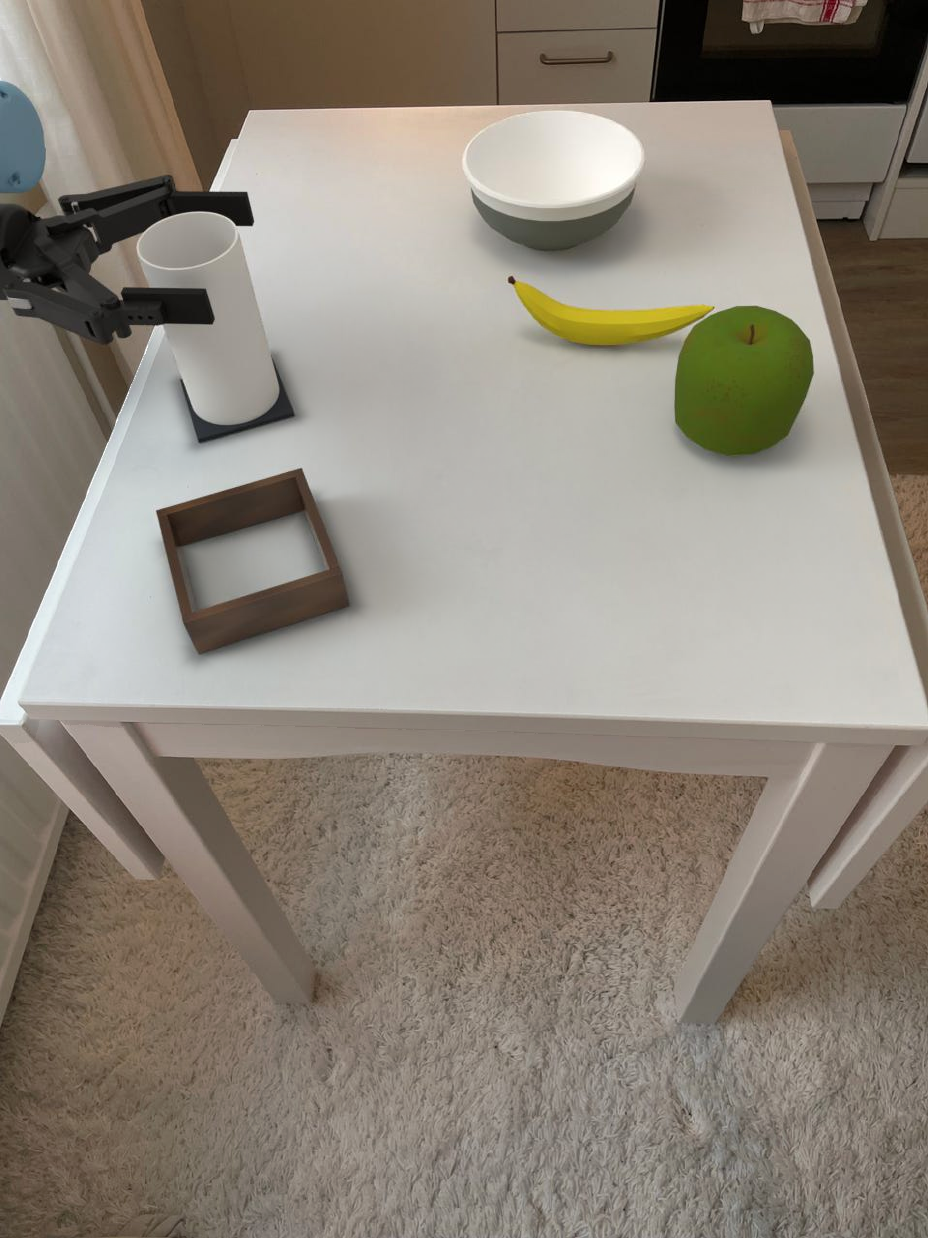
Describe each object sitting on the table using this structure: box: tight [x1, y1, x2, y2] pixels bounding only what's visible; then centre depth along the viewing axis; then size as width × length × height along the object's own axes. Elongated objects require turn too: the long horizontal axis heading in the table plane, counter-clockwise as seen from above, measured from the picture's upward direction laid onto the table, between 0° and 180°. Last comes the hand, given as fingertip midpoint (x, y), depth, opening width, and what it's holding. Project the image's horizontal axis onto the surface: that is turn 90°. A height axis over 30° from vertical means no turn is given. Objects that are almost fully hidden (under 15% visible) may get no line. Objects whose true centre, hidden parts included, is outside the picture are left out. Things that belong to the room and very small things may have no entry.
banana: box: [507, 275, 715, 346], centre depth 89 cm, size 3×19×6 cm, turn 78°
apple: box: [673, 305, 815, 457], centre depth 80 cm, size 11×11×11 cm
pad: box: [179, 355, 296, 444], centre depth 89 cm, size 9×9×1 cm
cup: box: [136, 212, 279, 425], centre depth 83 cm, size 8×8×16 cm
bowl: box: [461, 109, 646, 252], centre depth 100 cm, size 19×19×8 cm
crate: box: [155, 467, 351, 655], centre depth 75 cm, size 12×12×4 cm
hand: (231, 255), depth 77 cm, fingers open, 13 cm apart
